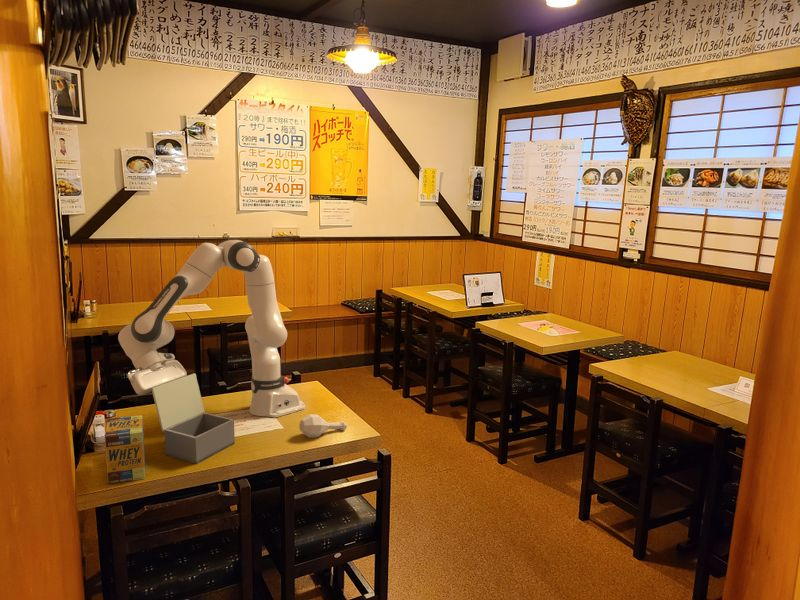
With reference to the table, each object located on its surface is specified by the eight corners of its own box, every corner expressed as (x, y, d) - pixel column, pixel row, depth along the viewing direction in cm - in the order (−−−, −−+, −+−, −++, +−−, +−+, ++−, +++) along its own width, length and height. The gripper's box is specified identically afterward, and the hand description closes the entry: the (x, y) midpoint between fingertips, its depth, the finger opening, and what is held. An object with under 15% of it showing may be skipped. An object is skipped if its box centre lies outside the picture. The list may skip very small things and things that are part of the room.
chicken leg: (350, 436, 217) (350, 413, 219) (306, 437, 207) (306, 413, 209) (340, 437, 223) (339, 415, 226) (296, 438, 214) (297, 415, 216)
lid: (163, 429, 194) (161, 430, 195) (204, 411, 211) (203, 411, 211) (152, 388, 193) (151, 388, 194) (195, 373, 210) (193, 373, 210)
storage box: (165, 454, 196) (164, 429, 195) (204, 435, 212) (203, 412, 211) (196, 464, 190) (195, 438, 189) (234, 443, 206) (233, 419, 205)
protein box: (107, 485, 176) (104, 436, 173) (110, 463, 190) (107, 418, 187) (145, 479, 180) (142, 431, 177) (145, 458, 194) (142, 414, 191)
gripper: (129, 367, 196) (151, 399, 193) (176, 352, 214) (197, 382, 211) (120, 377, 198) (142, 410, 196) (168, 362, 216) (189, 392, 214)
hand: (171, 395), depth 204 cm, fingers closed
